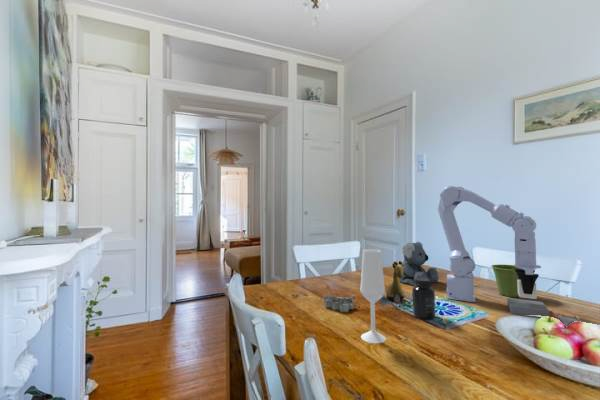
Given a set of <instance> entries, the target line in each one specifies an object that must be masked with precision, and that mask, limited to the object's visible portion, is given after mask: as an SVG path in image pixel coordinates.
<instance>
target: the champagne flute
mask: <svg viewBox="0 0 600 400" xmlns="http://www.w3.org/2000/svg"><path fill="white" fill-rule="evenodd" d="M359 291H360V293H361V295H362V296H363V298H365V300H366V301H368V302H369V303H370V330H369V331H367V332H364V333H362V334H361V335H360V338H361V340H363V341H364V342H366V343H369V344H381V343H384V342H385V341H386V340H387V338H386V336H384V335H382V334H381V333H380V332H378V331H376V303H377V302H379V299H381V298H382V296H383V295H385V294H386V293H385V292H386V287H385V278H384V268H383V260H382V251H381V250H380V249H373V248H371V249H368V248H367V249H363V250H362V261H361V274H360V289H359Z"/></svg>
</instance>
